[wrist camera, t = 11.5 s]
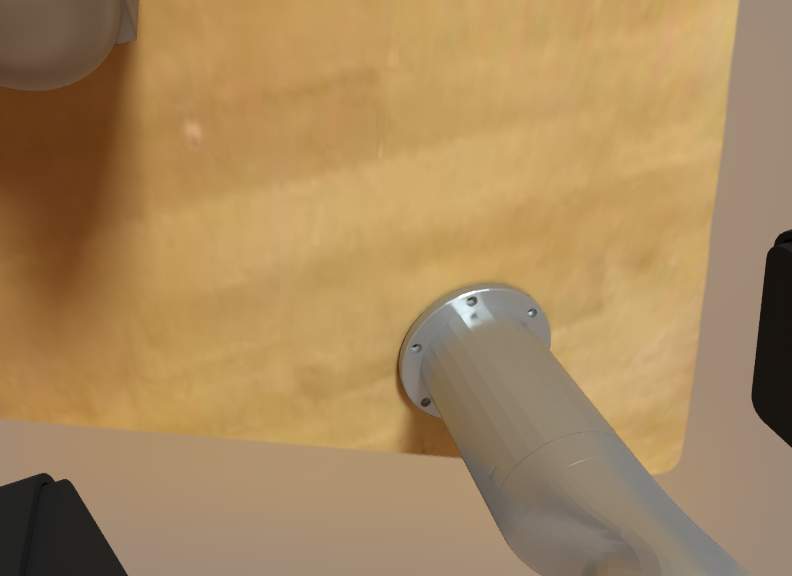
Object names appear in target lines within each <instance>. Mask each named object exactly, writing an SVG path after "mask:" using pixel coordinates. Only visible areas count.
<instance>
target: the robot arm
mask: <svg viewBox="0 0 792 576" xmlns="http://www.w3.org/2000/svg"><path fill="white" fill-rule="evenodd" d="M550 341H551V332H550V326H549V322H548V320H547V317H546V315H545V313H544V312H543V310H542V309H541V308H540V306H539V305H538V304H537V303H536V302H535V301H534V300H533V299H532V298H531V297H530V296H529V295H528V294H527V293H525V292H523V291H522V290H520V289H518V288H515V287H512V286H509V285H505V284H496V283H487V284H477V285H473V286H469V287H465V288H462V289H459V290H457V291H455V292H452V293H450V294H448V295H446V296H445V297H443V298H441V299H440V300H438V301H437V302H435V303H434V304H433V305H431V306H430V307H429V308H428V309H427V310H426V311H424V312H423V313H422V314H421V316H420V317H419V318H418V319H417V320H416V322H415V323H414V324H413V325H412V327H411V329H410V330H409V332H408V334H407V335H406V337H405V340H404V342H403V345H402V348H401V351H400V357H399V375H400V378H401V382H402V385H403V387H404V389H405V391H406V393H407V395H408V397H409V398H410V400H411V401H412V402H413V403H414V404H415V406H417V407H418V408H419V409H421V410H422V411H423V412H425V413H427V414H429V415H431V416H434V417H436V418H440V419H442V420H443V422H444V424H445V426H446V428H447V430H448V432H449V434H450V435H451V437H452V439H453V441H454V443H455V445H456V447H457V449H458V451H459V453H460V455H461V457H462V459H463V460H464V462H465V464H466V466H467V468H468V470H469V472H470V474H471V476H472V478H473V480H474V482H475V484H476V485H477V487H478V489H479V491H480V493H481V495H482V497H483V499H484V501H485V503H486V505H487V506H488V508H489V510H490V512H491V514H492V516H493V518H494V520H495V522H496V524H497V526H498V528H499V529H500V531H501V533H502V535H503V537H504V539H505V541H506V542H507V544H508V545H509V547H510V548H511V550H512V551H513V552H514V553H515V554H516V556H517V557H518V558H519V559H520V560H521V561H522V562H523V563H525V564H526V565H527V566H528V567H529V568H531V569H532V570H533V571H535V572H537V573H538V574H540V575H542V576H752V574H751V573H749V571H747V570H746V569H745V568H744V567H743V566H742V565H741V564H740V563H739V562H737V561H736V560H735V559H734V558H733V557H732V556H731V555H730V554H728V553H727V552H726V551H725V550H724V549H723V548H722V547H721V546H720V545H718V544H717V543H716V542H715V541H714V540H713V539H712V538H711V537H710V536H709V535H707V534H706V533H705V532H704V531H703V530H702V529H701V528H699V526H698V525H697V524H695V523H694V522H693V521H692V520H691V519H690V518H689V517H688V516H687V515H686V514H685V513H684V512H683V511H682V510H681V509H680V508H679V507H678V506H677V504H676V503H675V502H674V501H673V500H672V499H671V498H670V497H669V496H668V495H667V494H666V492H665V491H664V490H663V489H662V488H661V487H660V486H659V484H658V483H657V482H656V481H655V480H654V479H653V478H652V476H651V475H650V474H649V473H648V471H647V470H646V469H645V468H644V467H643V465H642V464H641V463H640V462H639V461H638V459H637V458H636V457H635V456H634V454H633V453H632V452H631V451H630V449H629V448H628V447H627V446H626V444H625V443H624V442H623V441H622V439H621V438H620V437H619V436H618V435H617V433H616V432H615V431H614V430H613V428H612V427H611V426H610V425H609V423H608V422H607V421H606V420H605V418H604V417H603V416H602V415H601V413H600V412H599V411H598V410H597V408H596V407H595V406H594V405H593V403H592V402H591V401H590V400H589V398H588V397H587V396H586V395H585V394H584V392H583V391H582V390H581V389H580V387H579V386H578V385H577V384H576V382H575V381H574V380H573V379H572V377H571V376H570V375H569V374H568V372H567V371H566V370H565V369H564V367H563V366H562V365H561V364H560V363H559V361H558V360H557V359H556V358H555V356H554V355H553V354H552V353H551V351H550V350H549V349H550ZM752 402H753V406H754V408H755V411H756V413H757V414H758V416H759V417H760V418H761V419H762V421H763V422H764V423H765V424H767V425H768V426H769V427H770V428H771V429H772V430H773V431H774V432H775V433H776V434H777V435H779V436H780V437H781V438H782V439H783V440H784V441H785V442H786V443H787V444H788V445H790V447H792V230H788V231H785V232H783V233H782V234H780V235H779V236H778V237H777V239H776V240H775V244H774V247H772V248H771V249H770V250H769V252H768V254H767V258H766V267H765V275H764V285H763V294H762V303H761V312H760V321H759V331H758V339H757V348H756V358H755V367H754V376H753V385H752ZM0 576H128V575H127V573H126V572H125V570H124V568H123V567H122V565H121V563H120V562H119V560H118V558H117V557H116V555H115V554H114V552H113V550H112V549H111V547H110V545H109V544H108V542H107V540H106V539H105V537H104V535H103V534H102V532H101V530H100V529H99V527H98V525H97V524H96V522H95V521H94V519H93V517H92V516H91V514H90V512H89V511H88V509H87V507H86V506H85V504H84V503H83V501H82V499H81V498H80V496H79V494H78V492H77V491H76V490H75V488H74V486H73V485H72V483H71V482H70V481H69V480H67V479H63V480H60V481H57V482H55V481H54V480H53V478H52V477H51V476H50V475H48V474H46V473H41V474H38V475H35V476H32V477H29V478H26V479H23V480H20V481H16V482H14V483H10V484H7V485H4V486H1V487H0Z"/></svg>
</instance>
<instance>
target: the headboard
mask: <svg viewBox="0 0 792 576" xmlns="http://www.w3.org/2000/svg"><path fill="white" fill-rule="evenodd" d="M137 19H138V0H0V86H3V87H6V88H11V89H16V90H23V91H47V90H53V89H58V88H61V87H65V86H68V85H71V84H73V83H75V82H77V81H79V80H81V79H83V78H84V77H86V76H88V75H89V74H91V73H92V72H93V71H94V70H95V69H96V68H98V67H99V66H100V65H101V63H102V62H103V61H104V60H105V59H106V58H107V56H108V54H109V53H110V51H111V50H112V48H113V46H114V45H117V44H121V43H126V42H130V41H135V40H136V39H137Z"/></svg>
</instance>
